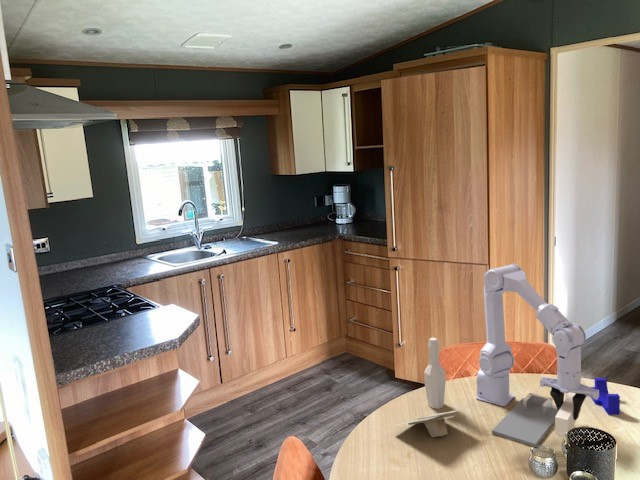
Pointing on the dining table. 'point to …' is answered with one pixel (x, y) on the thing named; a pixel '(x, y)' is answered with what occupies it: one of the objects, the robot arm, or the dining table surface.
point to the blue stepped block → (606, 397)
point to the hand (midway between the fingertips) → (568, 416)
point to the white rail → (565, 416)
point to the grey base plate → (528, 420)
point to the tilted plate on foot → (434, 423)
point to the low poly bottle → (434, 377)
